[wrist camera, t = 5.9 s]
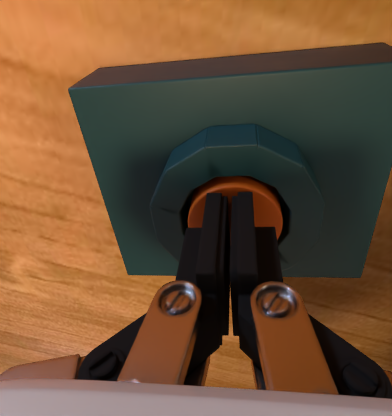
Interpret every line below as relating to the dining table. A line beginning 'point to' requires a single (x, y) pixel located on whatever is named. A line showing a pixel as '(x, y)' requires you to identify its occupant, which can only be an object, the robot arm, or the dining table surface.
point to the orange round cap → (230, 186)
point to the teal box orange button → (245, 149)
